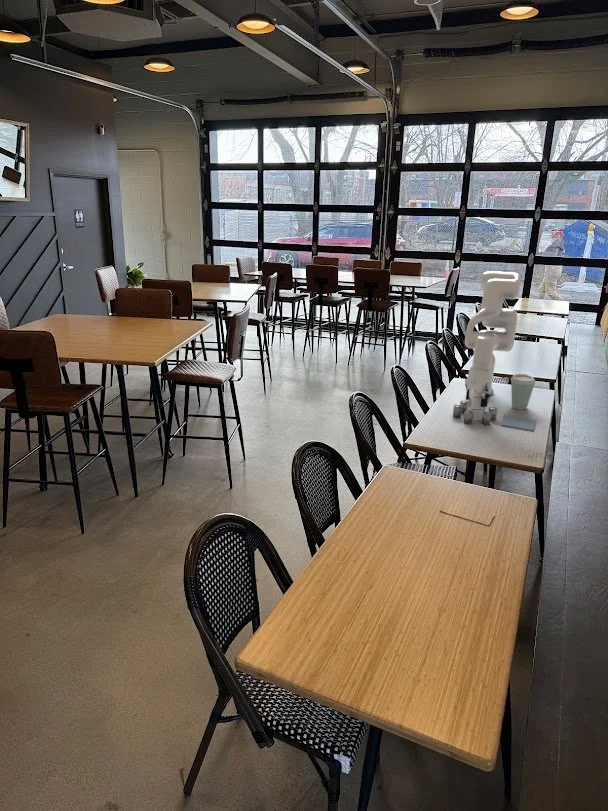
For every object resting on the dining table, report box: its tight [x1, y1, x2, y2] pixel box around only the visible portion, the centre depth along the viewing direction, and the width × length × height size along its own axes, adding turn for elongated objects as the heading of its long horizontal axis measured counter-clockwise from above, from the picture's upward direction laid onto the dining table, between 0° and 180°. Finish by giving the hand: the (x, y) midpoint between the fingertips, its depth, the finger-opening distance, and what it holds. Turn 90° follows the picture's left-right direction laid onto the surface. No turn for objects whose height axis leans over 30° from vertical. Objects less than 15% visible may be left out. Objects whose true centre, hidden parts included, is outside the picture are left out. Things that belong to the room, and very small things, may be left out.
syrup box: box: [467, 388, 486, 421], centre depth 237 cm, size 6×6×14 cm
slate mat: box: [500, 414, 537, 432], centre depth 234 cm, size 13×13×1 cm
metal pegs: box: [452, 400, 499, 426], centre depth 239 cm, size 19×17×5 cm
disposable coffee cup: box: [510, 373, 536, 410], centre depth 251 cm, size 11×11×15 cm
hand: (476, 403), depth 237 cm, fingers open, 9 cm apart
